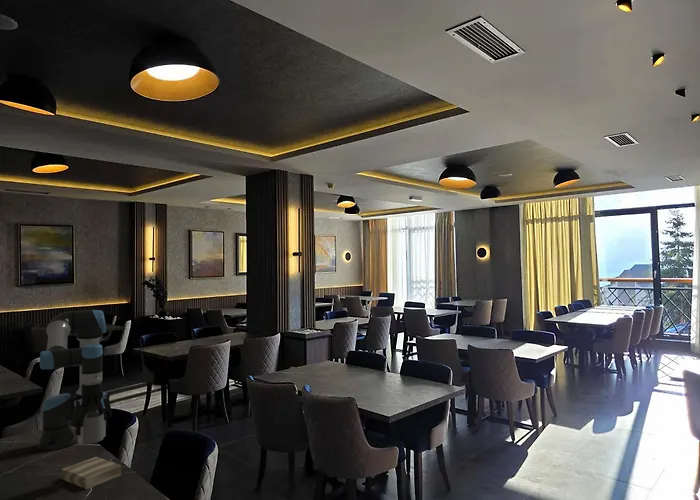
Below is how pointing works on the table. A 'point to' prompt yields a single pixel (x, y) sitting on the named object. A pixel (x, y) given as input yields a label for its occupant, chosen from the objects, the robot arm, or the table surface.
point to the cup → (93, 428)
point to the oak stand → (91, 472)
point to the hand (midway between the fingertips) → (91, 439)
